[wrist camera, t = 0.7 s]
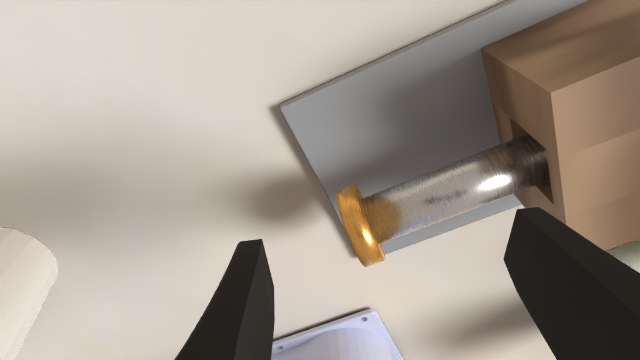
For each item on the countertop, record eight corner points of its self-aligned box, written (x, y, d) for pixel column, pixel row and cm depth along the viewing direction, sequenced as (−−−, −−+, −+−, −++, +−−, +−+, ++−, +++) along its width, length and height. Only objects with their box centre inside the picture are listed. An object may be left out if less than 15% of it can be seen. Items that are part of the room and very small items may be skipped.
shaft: (359, 230, 23) (371, 283, 19) (332, 177, 20) (340, 226, 17) (535, 163, 21) (582, 208, 17) (524, 97, 19) (576, 135, 15)
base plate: (362, 256, 27) (363, 262, 26) (280, 104, 20) (279, 108, 20) (625, 158, 24) (632, 163, 23) (624, -54, 17) (633, -53, 17)
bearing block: (510, 190, 24) (570, 262, 19) (480, 48, 19) (550, 92, 14) (614, 151, 23) (708, 216, 18) (610, -10, 18) (737, 16, 13)
